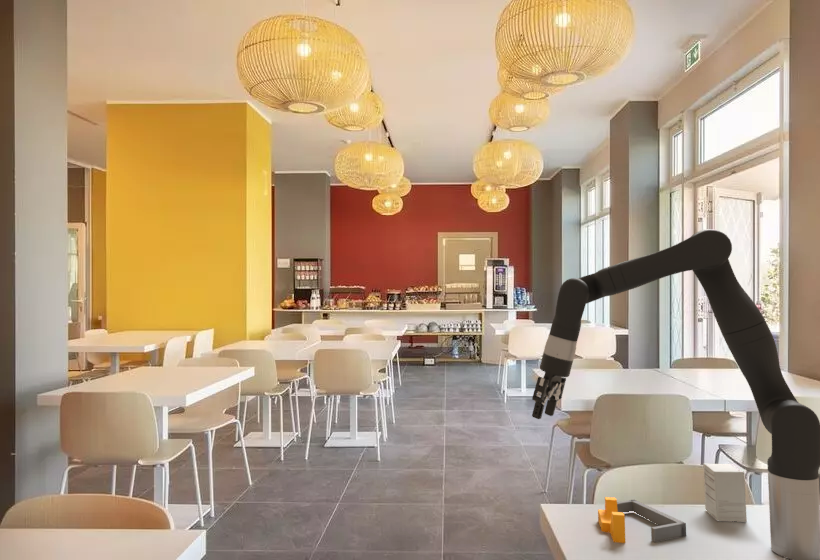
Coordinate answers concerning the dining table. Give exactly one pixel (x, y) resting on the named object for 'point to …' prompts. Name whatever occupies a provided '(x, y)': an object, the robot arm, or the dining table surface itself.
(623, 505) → the frame
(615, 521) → the pipe clamp
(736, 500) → the supplement box
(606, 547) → the dining table surface
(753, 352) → the robot arm
